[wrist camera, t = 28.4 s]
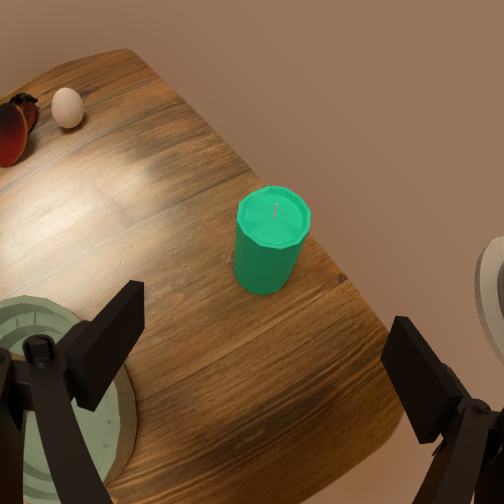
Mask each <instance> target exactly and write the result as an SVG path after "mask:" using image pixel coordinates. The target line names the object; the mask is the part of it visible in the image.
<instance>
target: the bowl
mask: <svg viewBox="0 0 504 504" xmlns="http://www.w3.org/2000/svg"><path fill="white" fill-rule="evenodd" d="M80 321H82V319H81V318H79V317H78V316H77V315H75V314H74V313H72V312H71V311H70V310H68V309H66V308H64V307H62V306H60V305H58V304H56V303H54V302H52V301H50V300H49V299H46V298H40V297H32V296H25V295H23V296H19V297H14V298H10V299H6V300H3V301H1V302H0V347H1V348H6V349H7V350H9V351H11V352H13V353H16V354H19V355H21V356H24V352H23V349H22V343H23V341H24V340H25V339H26V338H28V337H29V336H31V335H35V334H45V335H49V336H50V337H52V338H53V339H54V341H55V344H56V343H57V342H58V341H59V340H60V339H61V338H62V337H64V335H65V334H66V333H67V332H68V331H69V330H70V329H71V327H72V326H73V325H74V324H76V323H78V322H80ZM24 357H25V356H24ZM71 404H72V407H73V410H74V413H75V416H76V419H77V422H78V425H79V427H80V430H81V433H82V435H83V438H84V441H85V443H86V446H87V448H88V451H89V453H90V455H91V458H92V460H93V462H94V465H95V467H96V469H97V471H98V474H99V476H100V478H101V480H102V482H103V484H104V486H105V488H106V487H107V486H108V485H109V484H110V483H111V482H112V481H114V480H115V479H116V478H117V477H118V476H119V475H120V474H121V473H122V471H123V469H124V467H125V465H126V463H127V462H128V460H129V458H130V456H131V454H132V452H133V447H134V441H135V435H136V429H137V415H136V404H135V395H134V392H133V389H132V386H131V383H130V381H129V378H128V375H127V372H126V369H125V367H124V364H122V366H121V368H120V369H119V371H118V373H117V374H116V376H115V378H114V379H113V381H112V383H111V384H110V386H109V388H108V390H107V391H106V393H105V395H104V396H103V398H102V400H101V401H100V403H99V405H98V407H97V408H96V410H95V412H92V411H89V410H86V409H83V408H80V407H78V406H77V403H76V399H75V397H74V399H73V400H72V402H71ZM23 501H26V502H28V503H30V504H61V502H60V500H59V497H58V494H57V492H56V489H55V486H54V483H53V480H52V477H51V474H50V470H49V467H48V464H47V460H46V457H45V453H44V450H43V446H42V442H41V438H40V434H39V430H38V425H37V421H36V416H35V411H30V412H29V413H28V414H27V422H26V432H25V445H24V464H23Z"/></svg>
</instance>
